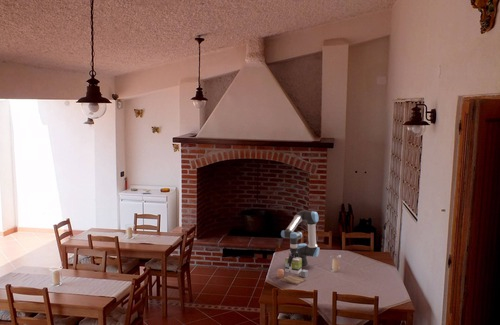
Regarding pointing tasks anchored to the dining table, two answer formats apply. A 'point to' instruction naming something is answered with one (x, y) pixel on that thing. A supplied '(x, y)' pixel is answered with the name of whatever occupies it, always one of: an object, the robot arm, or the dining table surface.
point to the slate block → (304, 273)
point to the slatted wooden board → (293, 279)
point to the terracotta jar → (280, 273)
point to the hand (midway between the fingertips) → (293, 267)
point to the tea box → (294, 265)
